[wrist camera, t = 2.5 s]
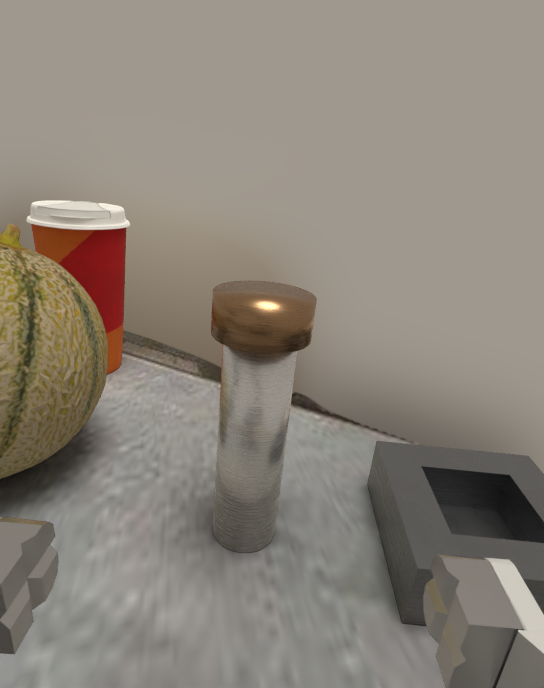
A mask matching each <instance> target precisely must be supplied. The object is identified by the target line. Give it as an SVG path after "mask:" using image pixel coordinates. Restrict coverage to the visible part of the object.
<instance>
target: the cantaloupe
mask: <svg viewBox="0 0 544 688" xmlns="http://www.w3.org/2000/svg"><path fill="white" fill-rule="evenodd" d="M19 236H20V230H19V228H18V226H16V225H12V224H8V226H7V229H6V230H5V231H4V232H3V233H2V234H1V235H0V479H1V478H4V477H8V476H10V475H13V474H15V473H18V472H20V471H23V470H25V469H28V468H30V467H33V466H35V465H37V464H39V463H41V462H42V461H44V460H45V459H47V458H48V457H50V456H51V455H53V454H54V453H56V452H57V451H58V450H59V449H61V448H63V447H64V446H65V445H66V444H67V443H68V442H69V441H70V440H71V439H72V438H73V437H74V436H75V435H76V434H77V433H78V432H79V431H80V430H81V428H82V427H83V426H84V424H85V423H86V422H87V421H88V419H89V418H90V416H91V415H92V413H93V411H94V409H95V407H96V405H97V403H98V400H99V399H100V397H101V394H102V392H103V389H104V386H105V382H106V375H107V368H108V361H107V359H108V345H107V337H106V332H105V328H104V324H103V321H102V318H101V316H100V314H99V312H98V309H97V307H96V305H95V303H94V302H93V300H92V299H91V297H90V296H89V295H88V293H87V292H86V291H85V289H84V288H83V287H82V286H81V284H80V283H79V282H78V281H77V280H76V279H75V278H74V277H73V276H72V275H71V274H70V273H69V272H68V271H67V270H65V269H64V268H63V267H62V266H61V265H59V264H58V263H57V262H55V261H53V260H51V259H49V258H47V257H45V256H43V255H41V254H39V253H37V252H35V251H33V250H31V249H28V248H23V247H22V246H21V244H20V243H19Z"/></svg>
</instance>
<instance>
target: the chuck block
mask: <svg viewBox="0 0 544 688" xmlns="http://www.w3.org/2000/svg"><path fill="white" fill-rule="evenodd" d="M368 488H369V492H370V496H371V500H372V504H373V508H374V512H375V516H376V520H377V524H378V528H379V532H380V536H381V540H382V544H383V548H384V552H385V556H386V560H387V564H388V568H389V572H390V576H391V580H392V584H393V588H394V593H395V597H396V601H397V605H398V609H399V613H400V617H401V621H402V623H407V624H417V625H426V622H425V616H424V610H423V595H424V591H425V586H426V583H428V582H429V581H430V580H431V579H433V578H434V577H433V574H432V571H431V568H430V567H431V564H432V560H433V558H434V557H435V556H436V554H439V555H453V556H466V557H480V558H494V559H507V560H510V561H511V562H512V563H513V564H514V565H515V567H516V568H517V570H518V572H519V573H520V575H521V577H522V579H523V580H524V582H525V584H526V585H527V587H528V589H529V590H530V592H531V594H532V596H533V597H534V599H535V601H536V602H537V604H538V606H539V607H540V609H541V611H542V613H543V614H544V474H543V473H542V472H541V470H540V469H539V468H538V467H537V466H536V464H535V463H534V462H533V461H532V460H531V458H529V456H524V455H523V456H522V455H513V454H503V453H493V452H483V451H473V450H463V449H453V448H442V447H432V446H423V445H413V444H403V443H393V442H382V441H376V446H375V451H374V456H373V460H372V465H371V470H370V475H369V479H368Z"/></svg>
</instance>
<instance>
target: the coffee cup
mask: <svg viewBox="0 0 544 688" xmlns="http://www.w3.org/2000/svg"><path fill="white" fill-rule="evenodd" d="M26 221H27V222H29V223H31V225H32V231H33V237H34V243H35V249H36V252H37V253H39V254H41V255H43V256H45V257H47V258H49V259H51V260H53V261H55V262H57V263H58V264H59V265H61V266H62V267H63V268H64V269H65V270H67V271H68V272H69V273H70V274H71V275H72V276H73V277H74V278H75V279H76V280H77V281H78V282H79V283H80V284H81V286H82V287H83V288H84V289H85V291H86V292H87V293H88V295H89V296H90V297H91V299H92V300H93V302H94V303H95V305H96V307H97V309H98V312H99V314H100V316H101V318H102V321H103V324H104V328H105V332H106V337H107V345H108V359H107V361H108V368H107V374H109V373H112V372H114V371H115V370H117V369H118V368H119V367H120V365H121V360H122V344H123V317H124V284H125V250H126V227H128V226H130V223H129V221H128V220H126V217H125V211H124V209H123V208H122V207H120V206H116V205H111V204H104V203H99V206H98V204H97V203H92V202H83V201H78V202H72V201H37V202H33V203H32V204H31V215H30V216H28V217H27V219H26Z"/></svg>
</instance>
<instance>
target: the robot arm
mask: <svg viewBox="0 0 544 688" xmlns="http://www.w3.org/2000/svg"><path fill="white" fill-rule="evenodd" d="M54 537H55V532H54V526H53V524H52V523H50V522H45V521H36V520H27V519H18V518H9V517H0V653H3V654H15V653H16V651H17V649H18V648H19V646H20V644H21V642H22V641H23V639H24V637H25V635H26V634H27V632H28V630H29V628H30V627H31V625H32V623H33V622H34V621H33V614H32V610H33V609H34V608H36V607H37V606H39V605H40V604H42V603H43V602H44V601H46V599H47V597H48V595H49V593H50V591H51V590H52V588H53V585H54V581H55V578H56V575H57V571H58V553H57V551H56V550H55V549H54V548H53V547H52V546H51V545H50V544H51V542H52V540H53V539H54ZM430 568H431V571H432V574H433V577H434V578H433V579H431V580H430V581H429V582H428V583H426V586H425V591H424V595H423V610H424V616H425V622H426V625H427V629H428V632H429V634H430V635H431V636H432V637H433V639H434V640H435V641H436V642H437V643H438V644H439V646H438V650H437V653H436V658H437V662H438V665H439V668H440V671H441V674H442V678H443V681H444V684H445V687H446V688H544V614H543V613H542V611H541V609H540V607H539V606H538V604H537V602H536V601H535V599H534V597H533V596H532V594H531V592H530V590H529V589H528V587H527V585H526V584H525V582H524V580H523V579H522V577H521V575H520V573H519V572H518V570H517V568H516V567H515V565H514V564H513V563H512V562H511V561H510V560H507V559H494V558H480V557H466V556H453V555H439V554H436V556H435V557H434V558H433V560H432V564H431V567H430Z"/></svg>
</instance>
